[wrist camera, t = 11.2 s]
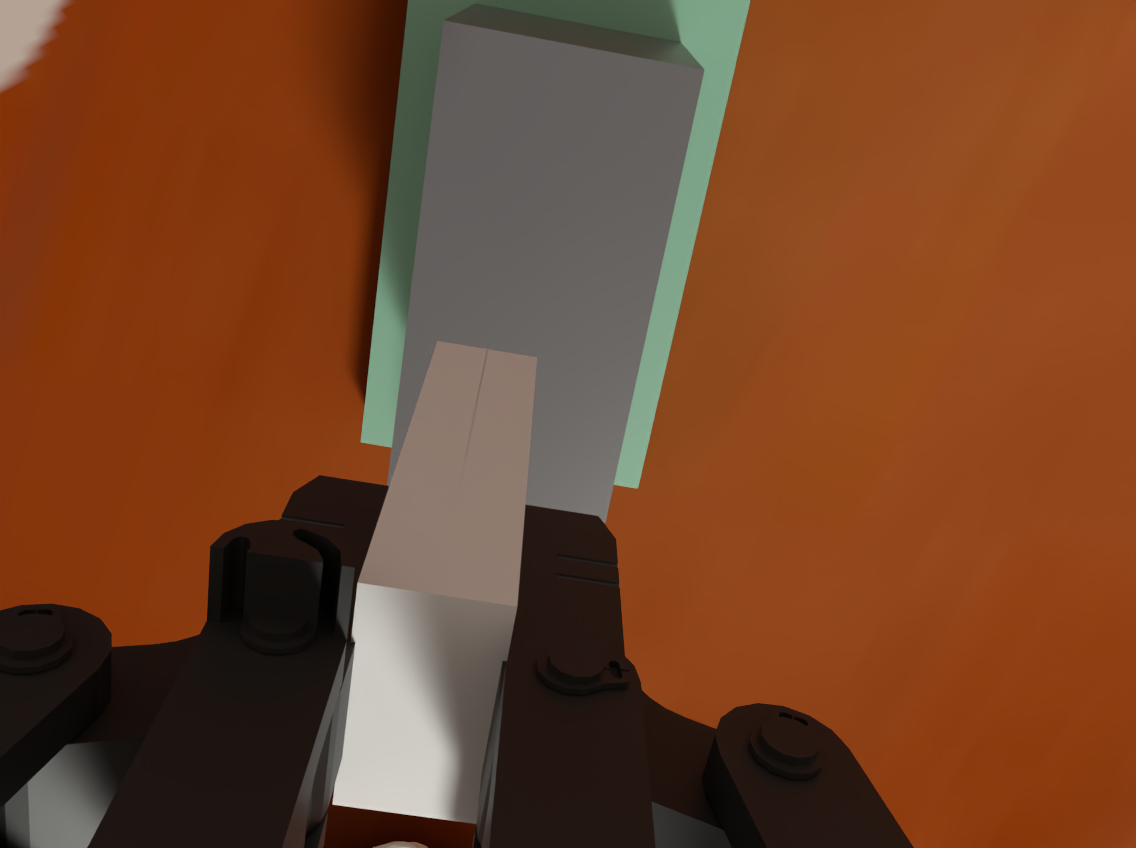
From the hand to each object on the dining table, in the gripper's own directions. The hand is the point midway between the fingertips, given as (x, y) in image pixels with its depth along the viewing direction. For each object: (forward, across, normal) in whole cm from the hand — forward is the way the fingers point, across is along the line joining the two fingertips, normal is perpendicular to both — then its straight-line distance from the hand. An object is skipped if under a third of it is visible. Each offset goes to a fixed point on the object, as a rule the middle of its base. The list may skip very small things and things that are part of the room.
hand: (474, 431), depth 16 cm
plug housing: (+13, -1, +2) cm, 13 cm away
